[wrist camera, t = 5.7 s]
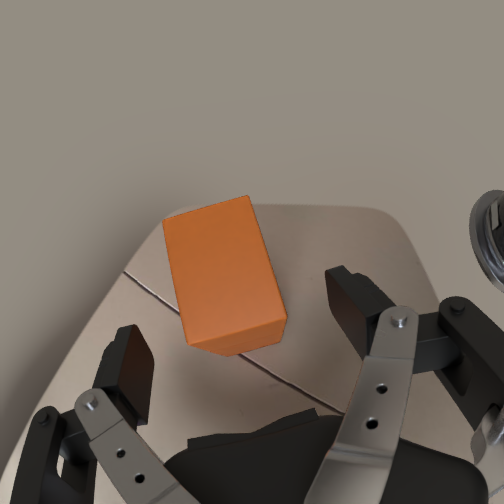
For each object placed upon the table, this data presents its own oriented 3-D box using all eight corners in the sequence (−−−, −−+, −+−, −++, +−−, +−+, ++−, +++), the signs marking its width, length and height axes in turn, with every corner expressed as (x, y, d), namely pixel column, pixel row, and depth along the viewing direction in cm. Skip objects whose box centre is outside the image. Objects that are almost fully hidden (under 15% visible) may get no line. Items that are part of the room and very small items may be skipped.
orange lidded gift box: (259, 270, 24) (248, 193, 14) (280, 341, 22) (288, 317, 12) (208, 285, 24) (161, 219, 13) (226, 356, 22) (186, 345, 11)
